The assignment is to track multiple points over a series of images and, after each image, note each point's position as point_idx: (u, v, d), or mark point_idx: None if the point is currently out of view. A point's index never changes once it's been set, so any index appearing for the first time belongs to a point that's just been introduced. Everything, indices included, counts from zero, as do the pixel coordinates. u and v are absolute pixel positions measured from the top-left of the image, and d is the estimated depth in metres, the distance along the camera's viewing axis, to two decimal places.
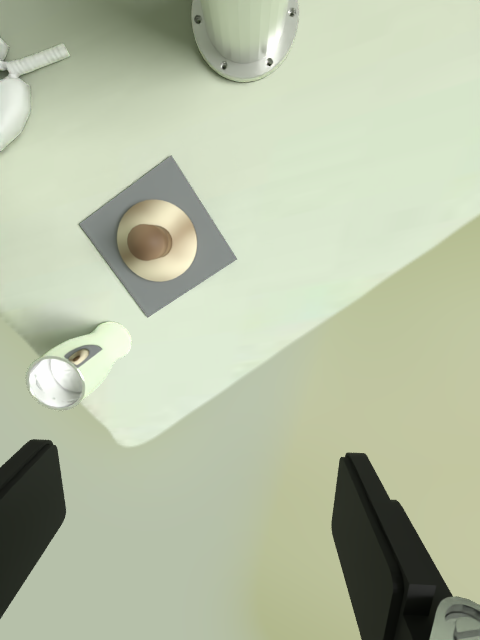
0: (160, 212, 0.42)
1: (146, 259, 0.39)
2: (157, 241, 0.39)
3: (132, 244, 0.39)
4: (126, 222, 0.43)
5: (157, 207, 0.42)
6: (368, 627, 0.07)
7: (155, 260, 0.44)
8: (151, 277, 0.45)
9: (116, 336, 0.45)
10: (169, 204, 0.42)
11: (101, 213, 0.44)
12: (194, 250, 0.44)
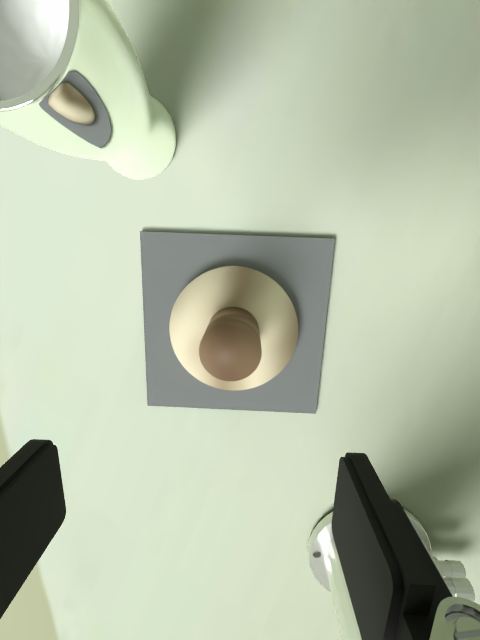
0: (264, 363, 0.28)
1: (205, 337, 0.22)
2: (219, 370, 0.22)
3: (240, 333, 0.22)
4: (285, 311, 0.26)
5: (272, 363, 0.28)
6: (367, 627, 0.07)
7: (210, 312, 0.26)
8: (191, 288, 0.26)
9: (128, 166, 0.22)
10: (265, 380, 0.28)
11: (322, 282, 0.27)
12: (189, 370, 0.28)
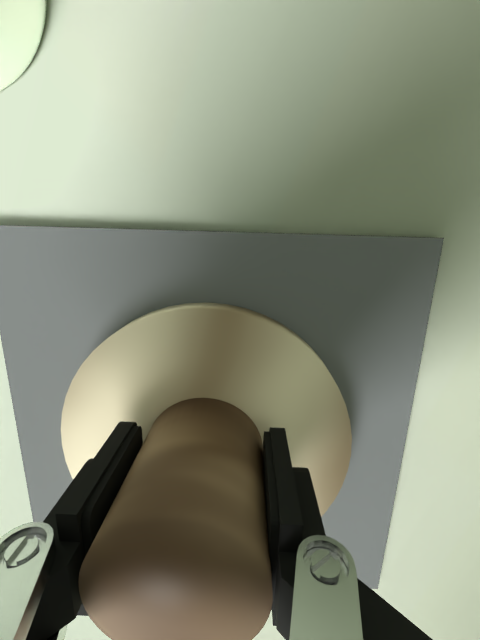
0: None
1: (95, 555, 0.07)
2: (147, 636, 0.07)
3: (203, 547, 0.07)
4: (323, 407, 0.11)
5: None
6: None
7: (151, 409, 0.12)
8: (103, 358, 0.11)
9: None
10: None
11: (407, 339, 0.12)
12: None
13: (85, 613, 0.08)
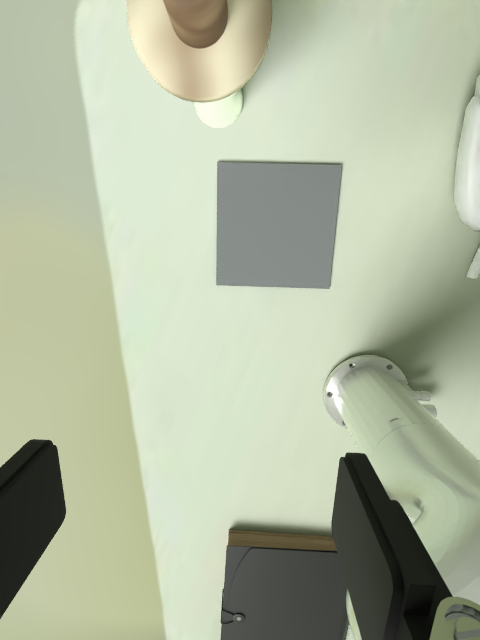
0: (235, 57, 0.24)
1: None
2: None
3: None
4: None
5: (244, 57, 0.24)
6: (367, 627, 0.07)
7: None
8: None
9: (217, 115, 0.37)
10: (237, 81, 0.25)
11: (334, 195, 0.41)
12: (152, 72, 0.25)
13: None
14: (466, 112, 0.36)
